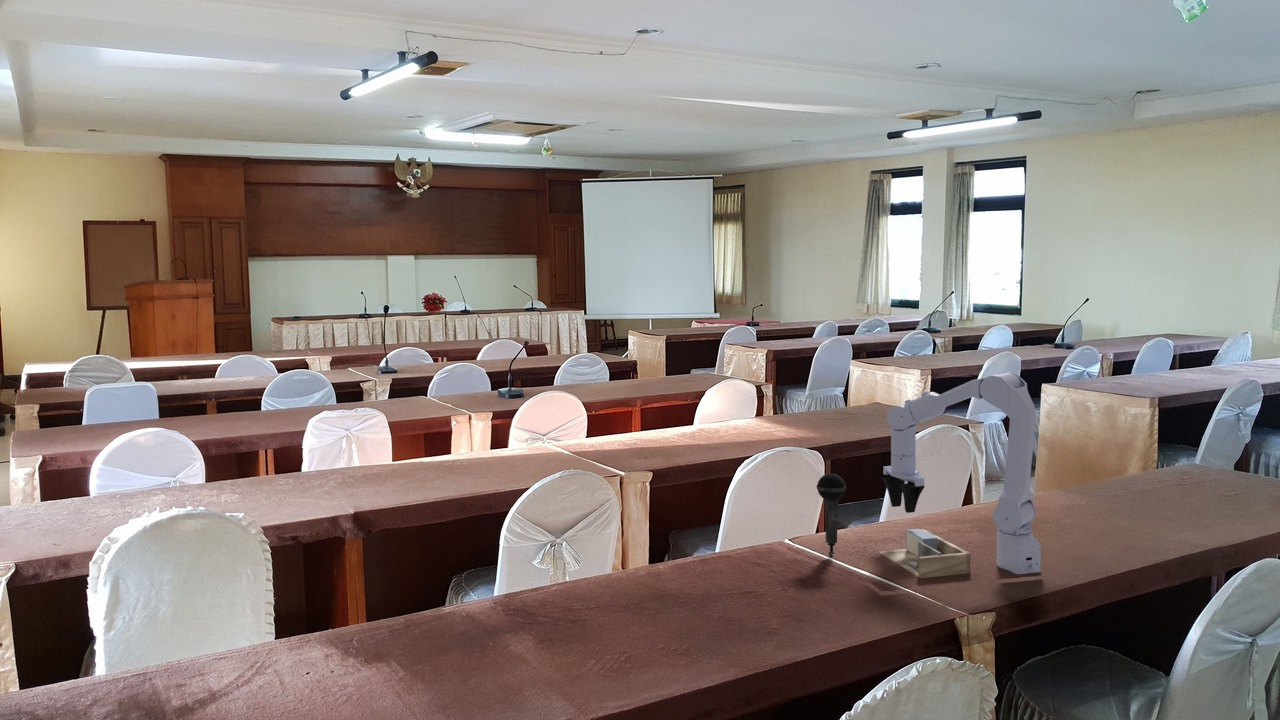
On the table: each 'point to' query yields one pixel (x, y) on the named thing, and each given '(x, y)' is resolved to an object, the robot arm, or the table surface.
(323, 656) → the table surface
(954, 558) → the wooden open box
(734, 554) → the table surface
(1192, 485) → the table surface
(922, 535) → the grey-blue block
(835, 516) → the microphone
